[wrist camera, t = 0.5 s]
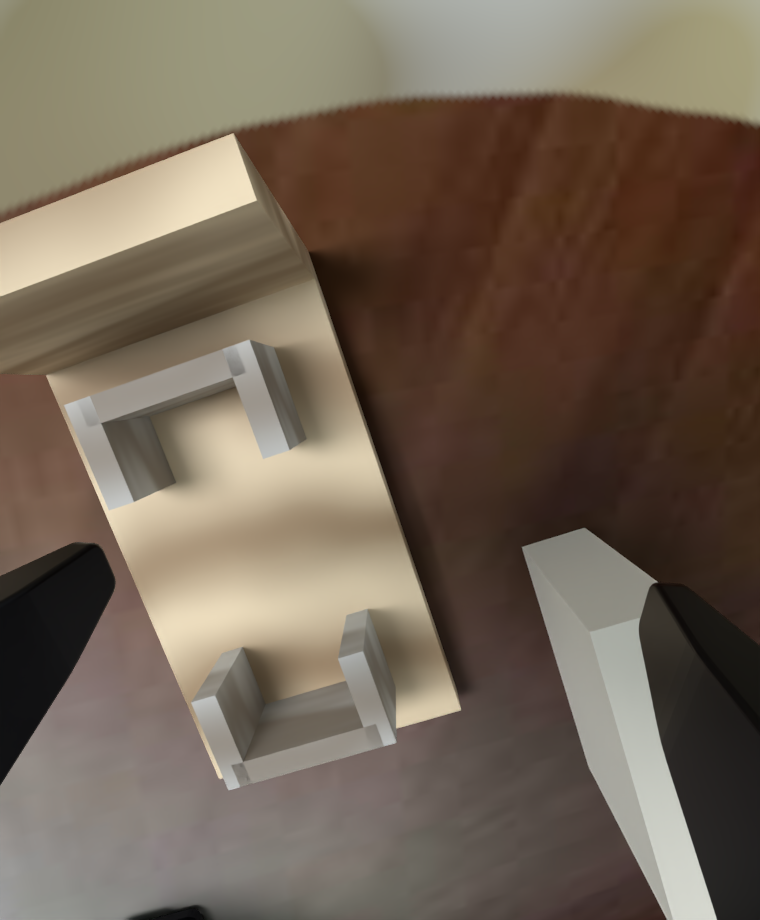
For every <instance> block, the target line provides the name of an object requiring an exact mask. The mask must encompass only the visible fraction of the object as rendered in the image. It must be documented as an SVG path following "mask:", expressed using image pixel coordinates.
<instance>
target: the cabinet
mask: <svg viewBox="0 0 760 920" xmlns="http://www.w3.org/2000/svg"><path fill="white" fill-rule="evenodd" d="M0 374H26V375H46V376H47V379H48V381H49V383H50V386H51V388H52V390H53V393H54V395H55V397H56V400H57V402H58V404H59V407H60V409H61V411H62V414H63V416H64V418H65V421H66V423H67V425H68V428H69V430H70V432H71V435H72V437H73V439H74V442H75V444H76V446H77V449H78V451H79V453H80V456H81V458H82V460H83V463H84V465H85V467H86V470H87V472H88V474H89V477H90V479H91V481H92V484H93V486H94V488H95V491H96V493H97V495H98V498H99V500H100V502H101V505H102V507H103V509H104V512H105V514H106V516H107V519H108V521H109V523H110V526H111V528H112V530H113V533H114V535H115V537H116V540H117V542H118V544H119V547H120V549H121V551H122V554H123V556H124V558H125V561H126V563H127V565H128V568H129V570H130V572H131V575H132V577H133V579H134V581H135V584H136V586H137V588H138V591H139V593H140V595H141V598H142V600H143V602H144V605H145V607H146V609H147V612H148V614H149V616H150V619H151V621H152V623H153V626H154V628H155V630H156V633H157V635H158V637H159V640H160V642H161V644H162V647H163V649H164V651H165V654H166V656H167V658H168V661H169V663H170V665H171V668H172V670H173V672H174V675H175V677H176V679H177V682H178V684H179V686H180V689H181V691H182V693H183V696H184V698H185V700H186V703H187V705H188V707H189V710H190V712H191V714H192V717H193V719H194V721H195V724H196V726H197V728H198V731H199V733H200V735H201V738H202V740H203V742H204V745H205V747H206V749H207V752H208V754H209V756H210V759H211V761H212V763H213V766H214V768H215V770H216V773H217V775H218V777H219V779H222V778H223V779H224V781H225V783H226V786H227V788H228V790H231V789H235V788H238V787H242V786H245V785H249V784H253V783H256V782H260V781H263V780H267V779H270V778H274V777H277V776H281V775H284V774H288V773H291V772H295V771H298V770H302V769H306V768H309V767H313V766H316V765H320V764H323V763H327V762H330V761H334V760H337V759H341V758H344V757H348V756H351V755H355V754H359V753H362V752H366V751H369V750H373V749H376V748H380V747H383V746H387V745H390V744H394V743H396V729H397V728H400V727H404V726H407V725H411V724H414V723H418V722H421V721H425V720H428V719H432V718H435V717H439V716H442V715H446V714H449V713H453V712H456V711H460V710H461V707H460V702H459V697H458V693H457V689H456V686H455V683H454V680H453V677H452V674H451V671H450V668H449V665H448V662H447V659H446V656H445V653H444V650H443V647H442V644H441V641H440V638H439V636H438V633H437V630H436V627H435V624H434V621H433V618H432V615H431V612H430V609H429V606H428V603H427V600H426V597H425V594H424V591H423V588H422V585H421V582H420V579H419V577H418V574H417V571H416V568H415V565H414V562H413V559H412V556H411V553H410V550H409V547H408V544H407V541H406V538H405V535H404V532H403V529H402V526H401V523H400V521H399V518H398V515H397V512H396V509H395V506H394V503H393V500H392V497H391V494H390V491H389V488H388V485H387V482H386V479H385V476H384V473H383V470H382V467H381V464H380V462H379V459H378V456H377V453H376V450H375V447H374V444H373V441H372V438H371V435H370V432H369V429H368V426H367V423H366V420H365V417H364V414H363V411H362V408H361V406H360V403H359V400H358V397H357V394H356V391H355V388H354V385H353V382H352V379H351V376H350V373H349V370H348V367H347V364H346V361H345V358H344V355H343V352H342V349H341V347H340V344H339V341H338V338H337V335H336V332H335V329H334V326H333V323H332V320H331V317H330V314H329V311H328V308H327V305H326V302H325V299H324V296H323V293H322V290H321V288H320V285H319V282H318V279H317V276H316V273H315V270H314V267H313V264H312V261H311V258H310V255H309V252H308V250H307V249H306V247H305V245H304V244H303V242H302V241H301V239H300V238H299V236H298V234H297V233H296V231H295V230H294V228H293V226H292V225H291V223H290V222H289V220H288V219H287V217H286V215H285V214H284V212H283V211H282V209H281V208H280V206H279V204H278V203H277V201H276V200H275V198H274V197H273V195H272V193H271V192H270V190H269V189H268V187H267V185H266V184H265V182H264V181H263V179H262V178H261V176H260V174H259V173H258V171H257V170H256V168H255V167H254V165H253V163H252V162H251V160H250V159H249V157H248V155H247V154H246V152H245V151H244V149H243V148H242V146H241V144H240V143H239V141H238V140H237V138H236V137H235V135H234V133H233V134H230V135H228V136H225V137H222V138H220V139H217V140H215V141H212V142H209V143H207V144H204V145H202V146H199V147H197V148H194V149H191V150H189V151H186V152H184V153H181V154H178V155H176V156H173V157H171V158H168V159H166V160H163V161H160V162H158V163H155V164H153V165H150V166H147V167H145V168H142V169H140V170H137V171H135V172H132V173H129V174H127V175H124V176H122V177H119V178H116V179H114V180H111V181H109V182H106V183H103V184H101V185H98V186H96V187H93V188H91V189H88V190H85V191H83V192H80V193H78V194H75V195H72V196H70V197H67V198H65V199H62V200H60V201H57V202H54V203H52V204H49V205H47V206H44V207H41V208H39V209H36V210H34V211H31V212H29V213H26V214H23V215H21V216H18V217H16V218H13V219H10V220H8V221H5V222H3V223H0Z"/></svg>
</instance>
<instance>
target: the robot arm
mask: <svg viewBox="0 0 760 920" xmlns="http://www.w3.org/2000/svg"><path fill="white" fill-rule="evenodd" d="M115 583H116V581H115V576H114V574H113V571H112V569H111V567H110V565H109V562H108V560H107V558H106V555H105V553H104V551H103V549H102V547H100V546H99V545H98V544H95V543H84V542H75V543H71V544H69V545H67V546H65V547H63V548H60V549H58V550H56V551H54V552H52V553H50V554H47V555H45V556H43V557H41V558H39V559H37V560H34V561H32V562H30V563H28V564H26V565H23V566H21V567H19V568H17V569H15V570H13V571H10V572H8V573H6V574H4V575H2V576H0V785H1V784H2V782H3V780H4V779H5V777H6V776H7V774H8V772H9V771H10V769H11V768H12V766H13V765H14V763H15V761H16V760H17V758H18V757H19V755H20V754H21V752H22V750H23V749H24V747H25V746H26V744H27V743H28V741H29V739H30V738H31V736H32V735H33V733H34V731H35V730H36V728H37V727H38V725H39V724H40V722H41V720H42V719H43V717H44V716H45V714H46V713H47V711H48V709H49V708H50V706H51V705H52V703H53V702H54V700H55V698H56V697H57V695H58V694H59V692H60V690H61V689H62V687H63V686H64V684H65V682H66V681H67V679H68V678H69V676H70V674H71V673H72V671H73V669H74V667H75V665H76V664H77V662H78V660H79V658H80V656H81V654H82V652H83V650H84V648H85V646H86V644H87V643H88V641H89V639H90V637H91V635H92V633H93V631H94V629H95V627H96V625H97V623H98V621H99V619H100V617H101V615H102V614H103V612H104V610H105V608H106V606H107V604H108V602H109V600H110V598H111V596H112V594H113V592H114V589H115ZM639 638H640V644H641V649H642V654H643V658H644V663H645V668H646V673H647V678H648V683H649V688H650V693H651V698H652V703H653V708H654V713H655V718H656V723H657V727H658V732H659V736H660V741H661V745H662V748H663V752H664V755H665V758H666V762H667V765H668V768H669V771H670V774H671V778H672V781H673V784H674V787H675V790H676V793H677V796H678V799H679V803H680V806H681V809H682V812H683V815H684V818H685V821H686V824H687V828H688V831H689V834H690V837H691V840H692V843H693V846H694V849H695V853H696V856H697V859H698V862H699V865H700V868H701V871H702V874H703V878H704V881H705V884H706V887H707V890H708V893H709V896H710V899H711V903H712V906H713V909H714V912H715V915H716V918H717V920H760V645H758V644H757V643H756V642H755V641H754V640H752V639H751V638H750V637H749V636H747V635H746V634H745V633H744V632H742V631H741V630H740V629H739V628H738V627H736V626H735V625H734V624H733V623H731V622H730V621H729V620H728V619H726V618H725V617H724V616H723V615H722V614H720V613H719V612H718V611H717V610H715V609H714V608H713V607H712V606H710V605H709V604H708V603H707V602H706V601H704V600H703V599H702V598H701V597H699V596H698V595H697V594H696V593H694V592H693V591H692V590H691V589H690V588H688V587H687V586H685V585H682V584H675V583H661V582H656V583H653V584H652V585H651V586H650V588H649V590H648V593H647V597H646V600H645V604H644V607H643V611H642V614H641V618H640V622H639ZM150 920H204V918H203V916H202V914H201V913H200V912H199V911H198V910H196V909H188V910H184V911H181V912H177V913H173V914H169V915H165V916H162V917H158V918H154V919H150Z"/></svg>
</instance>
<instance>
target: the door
mask: <svg viewBox="0 0 760 920" xmlns="http://www.w3.org/2000/svg"><path fill="white" fill-rule="evenodd" d="M522 550H523V553H524V556H525V560H526V563H527V566H528V569H529V573H530V576H531V579H532V583H533V586H534V589H535V592H536V596H537V599H538V602H539V606H540V609H541V612H542V615H543V619H544V622H545V625H546V629H547V632H548V635H549V638H550V642H551V645H552V648H553V652H554V655H555V658H556V662H557V665H558V668H559V671H560V675H561V678H562V681H563V685H564V688H565V691H566V694H567V698H568V701H569V704H570V708H571V711H572V714H573V717H574V721H575V724H576V727H577V731H578V734H579V737H580V741H581V744H582V747H583V750H584V754H585V757H586V760H587V764H588V767H589V769H590V771H591V772H592V774H593V776H594V778H595V780H596V782H597V784H598V786H599V788H600V790H601V792H602V794H603V796H604V798H605V800H606V802H607V804H608V806H609V807H610V809H611V811H612V813H613V815H614V817H615V819H616V821H617V823H618V825H619V827H620V829H621V831H622V833H623V835H624V837H625V839H626V841H627V843H628V844H629V846H630V848H631V850H632V852H633V854H634V856H635V858H636V860H637V862H638V864H639V866H640V868H641V870H642V872H643V874H644V876H645V878H646V879H647V881H648V883H649V885H650V887H651V889H652V891H653V893H654V895H655V897H656V899H657V901H658V903H659V905H660V907H661V909H662V911H663V913H664V914H665V916H666V918H667V920H717V918H716V915H715V912H714V909H713V906H712V903H711V899H710V896H709V893H708V890H707V887H706V884H705V881H704V878H703V874H702V871H701V868H700V865H699V862H698V859H697V856H696V853H695V849H694V846H693V843H692V840H691V837H690V834H689V831H688V828H687V824H686V821H685V818H684V815H683V812H682V809H681V806H680V803H679V799H678V796H677V793H676V790H675V787H674V784H673V781H672V778H671V774H670V771H669V768H668V765H667V762H666V758H665V755H664V752H663V748H662V745H661V741H660V736H659V732H658V727H657V723H656V718H655V713H654V708H653V703H652V698H651V693H650V688H649V683H648V678H647V673H646V668H645V663H644V658H643V654H642V649H641V644H640V638H639V622H640V618H641V614H642V611H643V607H644V604H645V600H646V597H647V593H648V590H649V588H650V586H651V585H652V584H653V583H656V582H657V581H656V580H654V579H653V578H652V577H650V576H649V575H648V574H646V573H645V572H644V571H642V570H641V569H640V568H638V567H637V566H636V565H634V564H633V563H632V562H630V561H629V560H628V559H626V558H625V557H624V556H622V555H621V554H619V553H618V552H617V551H615V550H614V549H613V548H611V547H610V546H609V545H607V544H606V543H605V542H603V541H602V540H601V539H599V538H598V537H597V536H595V535H594V534H593V533H591V532H590V531H589V530H587V529H586V528H582V529H579V530H575V531H572V532H569V533H566V534H562V535H559V536H556V537H553V538H549V539H546V540H543V541H540V542H536V543H533V544H530V545H527V546H523V547H522Z"/></svg>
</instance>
